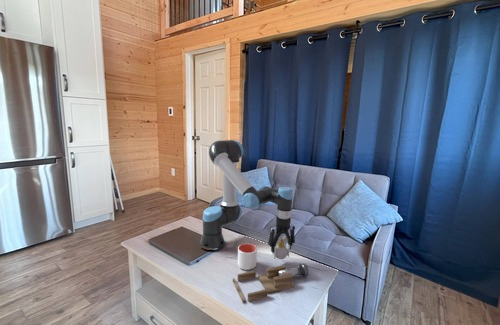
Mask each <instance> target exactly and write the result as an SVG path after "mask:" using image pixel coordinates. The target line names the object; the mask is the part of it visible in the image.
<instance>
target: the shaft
mask: <svg viewBox="0 0 500 325" xmlns="http://www.w3.org/2000/svg"><path fill="white" fill-rule="evenodd" d="M286 274H292V275H293V278H294V277H299V276H301V277H304V278H306V277H307V276H309V268H308V266H307V265H306V263H304V262H303V263H299V265H298V266H296V267H290V268H286V269H285V270H280V271H278V272H277V276H282V275H286Z"/></svg>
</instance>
